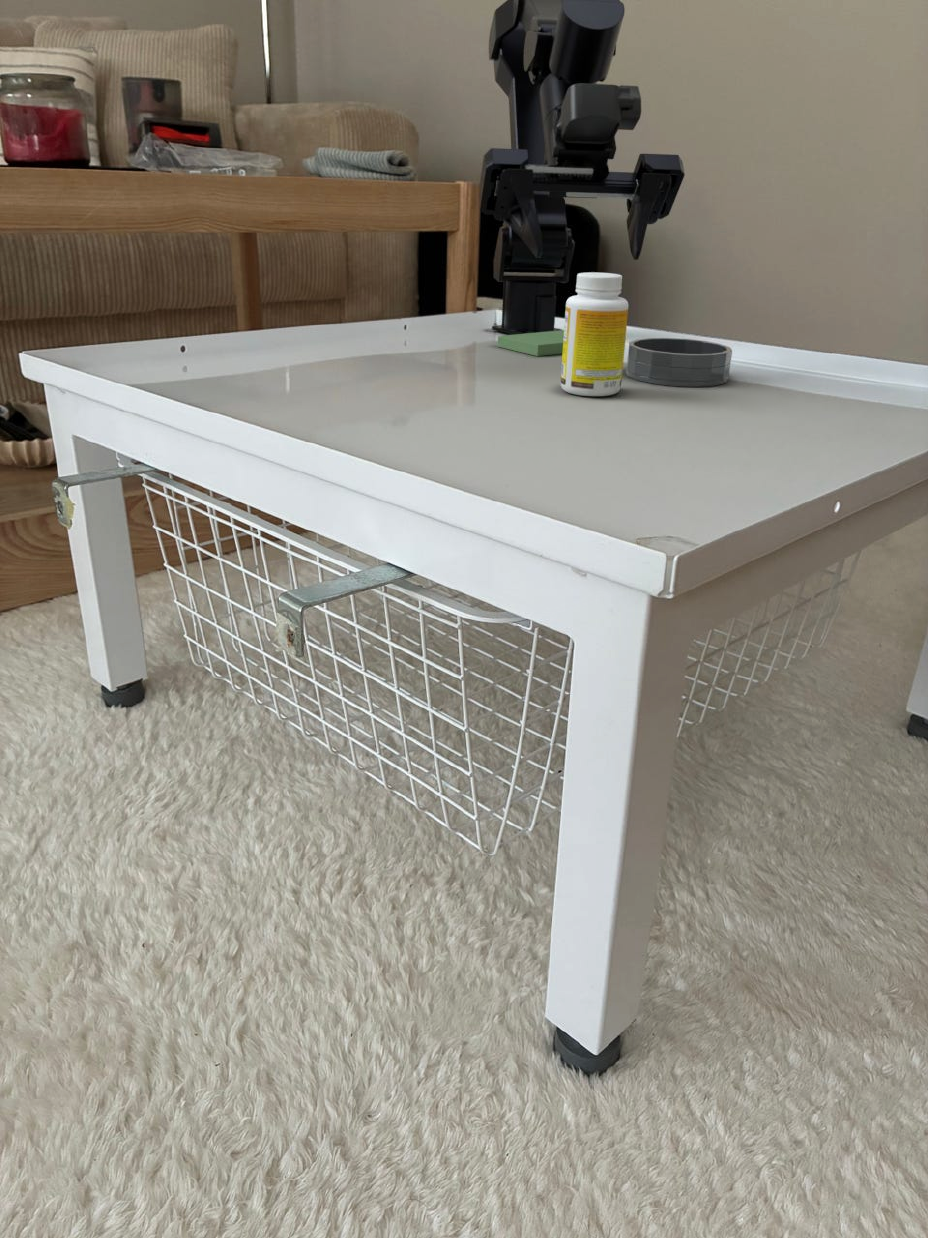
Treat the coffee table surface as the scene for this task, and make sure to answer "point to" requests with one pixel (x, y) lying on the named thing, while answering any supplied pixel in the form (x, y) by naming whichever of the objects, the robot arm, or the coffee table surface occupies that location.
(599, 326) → the supplement bottle
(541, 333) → the green rectangular slab
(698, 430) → the coffee table surface
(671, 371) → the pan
